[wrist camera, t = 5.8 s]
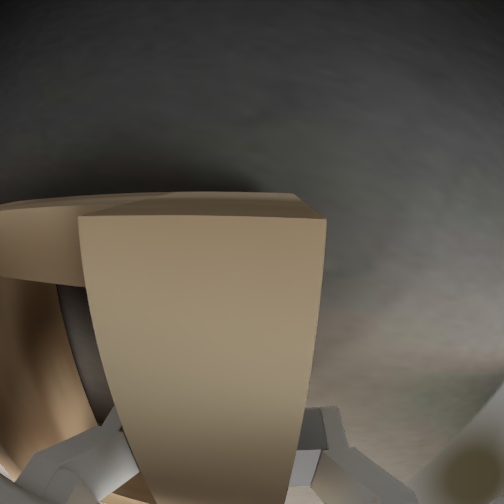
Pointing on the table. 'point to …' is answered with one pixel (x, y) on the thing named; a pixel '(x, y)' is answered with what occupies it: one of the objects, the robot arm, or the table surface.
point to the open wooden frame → (166, 335)
